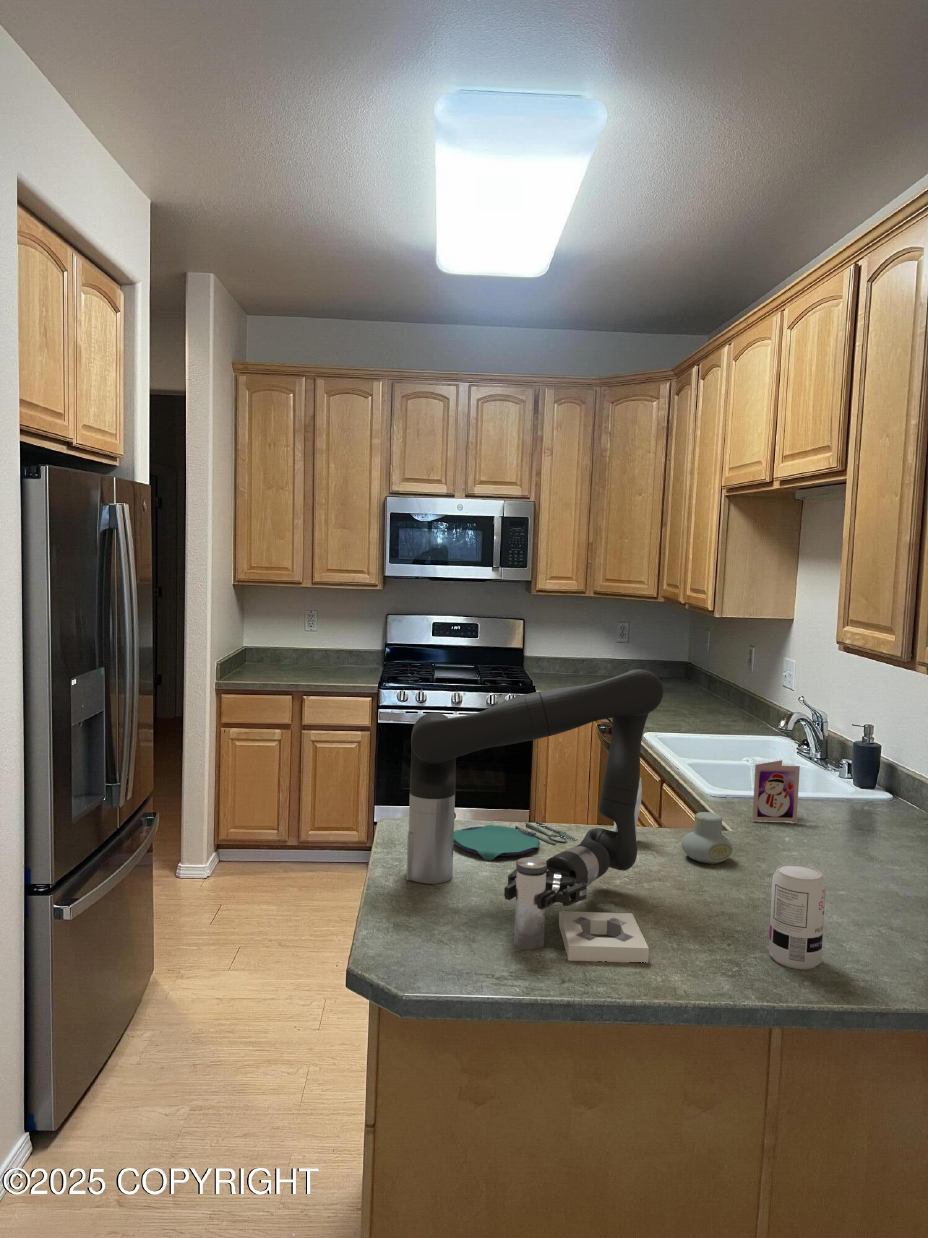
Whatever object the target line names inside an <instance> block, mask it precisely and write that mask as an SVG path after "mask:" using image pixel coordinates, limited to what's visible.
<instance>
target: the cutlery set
mask: <svg viewBox="0 0 928 1238" xmlns="http://www.w3.org/2000/svg"><path fill="white" fill-rule="evenodd" d="M525 824H526V825H525ZM536 824H539V825H546V823H543V822H540V821H538V820H537V821H536V822H535V825H536ZM535 825H533V824H531V823H530V822H525V823H524V826H526V827H527V828H531V829H533V830H536V831H538V832H539V833H542V834H544V835H545V836H547V837H548V838H549V839H547V838H544V837H542V836H540V835H537V832H534V831H530V830H527V829H525V828H522V827H520V826H519V825H515V826H514V827H511V826H506V825H505V826H503V825H495V824H494V825H493V824H488V825H484V826H472V827H467V828H462V829H459V830H454V843H453V845H455V846H457V847H458V848H460V849H461V850H464V851H466V852H469V853H473V854H477V855H479V856H480V857H481V858H483V860H485V861H488V862H489V861H490V862H491V861H493V860H494V859H495V858H497V857H499V856H500V857H511V856H518V855H519V856H520V855H525V854H528V853H531V852H533V851H538V850H539V847H540V844H541V842H540V841H542V842H545V843H547V844H549V845H552V846H556V845H557V844H556V843H566V842H568V840H569V839H570V840H569V841H572V840H573V841H572V842H575V841H578V838H577V839H576V838H575V837H573V836H572V835H570V834H568V833H567V832H566V831H562V830H557V829H554V828H552V827H550V826H548V825H546V826H540V827H541V828H543V827H545V828H544V830H548V831H550V832H552V831H553V832H552V833H555V832H556V833H555V834H549V833H547V832H546V831H544V830H542V829H541V828H539V827H538V826H535ZM557 834H558V835H557ZM561 836H562V837H561ZM557 837H560V838H559V839H561V840H563V839H564V840H565V841H564V840H563V841H561V840H556V839H554V838H557ZM564 837H566V838H567V839H566V838H564ZM571 839H572V840H571ZM575 839H576V840H575ZM552 840H553V841H552Z"/></svg>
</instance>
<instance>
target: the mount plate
mask: <svg viewBox="0 0 928 1238" xmlns="http://www.w3.org/2000/svg"><path fill="white" fill-rule="evenodd" d="M558 916H559V917H558V926H559V931H560V934H561V938H562V942H563V945H564V950H565V952H566V953H565V954H566V957H567V960H568V961H569V962H571V961H573V962H574V961H575V962H598V961H602V962H603V963H604V962H605V961H607V962H605V963H629V962H641V963H640V964H649V955H650V954H649V951H650V948H649V945H648V944H647V942H646V939H645V937H644V935H643V933H642V931H641V929H640V927H639V924H638V923H637V921H636V919H635V916H634V915H633V913H632V912H631V913H629V912H627V913H626V912H625V913H624V912H602V911H600V912H599V911H598V912H594V911H593V912H592V911H569V910H566V911H564V910H561V911H559V914H558ZM595 935H604V936H605V935H606V936H609V937H601V936H600V937H599V936H598V937H597V936H595ZM602 962H601V963H602ZM642 962H644V963H642ZM645 962H646V963H645Z"/></svg>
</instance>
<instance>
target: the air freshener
mask: <svg viewBox="0 0 928 1238" xmlns="http://www.w3.org/2000/svg"><path fill="white" fill-rule="evenodd" d="M693 822H694V825H693V831H690V832H688V833H687V834H686V835H685V836H684V837H683V838H682V841H681V848H682V850H683V852H684V853H685V855H687V856H688V858H690V859H692V860H694V861H696V862H699V863H703V864H707V863H708V864H709V865H717V864H719V863H722V862H725V861H726V860H727V859H729V858H730V857H731V855H732V854H733V848H734V847H733V844H732V842H731V841H730V839H728V837H727V836H726V835H724V834H722V830H723V817H722V816H721V815H720V814H718V813H714V812H709V811H707V812H706V811H702V812H701V811H700V812H697V813H695V814H694V821H693Z"/></svg>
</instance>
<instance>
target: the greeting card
mask: <svg viewBox="0 0 928 1238" xmlns="http://www.w3.org/2000/svg"><path fill="white" fill-rule="evenodd" d="M754 765H755V768H754V784H753V786H754V787H753V804H752V806H753V807H752V819H753V820H762V821H765V820H767V821H792V822H797V823H798V804H799V789H800V788H799V785H800V771H801V770H800V769H801V768H800V767H801V766H800V765H783V760H782V759H780V760H775V761H771V762H765V763H759V764H758V763H757V764H754Z"/></svg>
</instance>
